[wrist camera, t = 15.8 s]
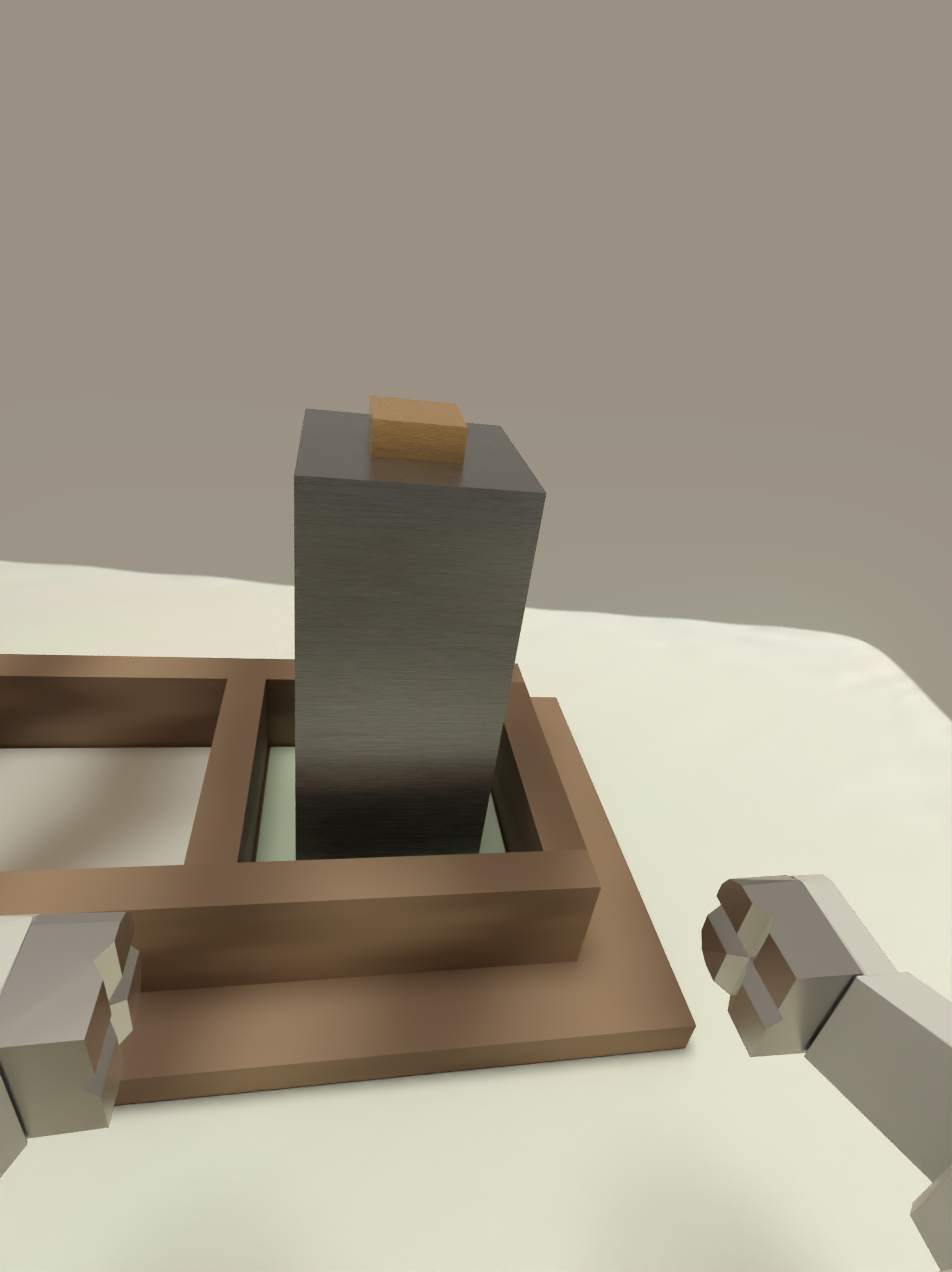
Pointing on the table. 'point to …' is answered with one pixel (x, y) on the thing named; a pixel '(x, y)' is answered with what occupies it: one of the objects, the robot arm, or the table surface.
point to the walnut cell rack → (316, 889)
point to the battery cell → (404, 625)
